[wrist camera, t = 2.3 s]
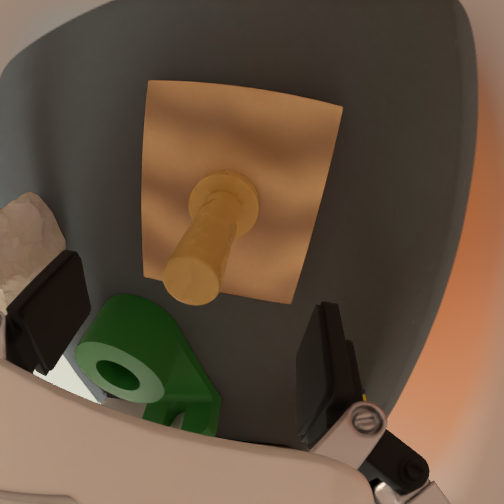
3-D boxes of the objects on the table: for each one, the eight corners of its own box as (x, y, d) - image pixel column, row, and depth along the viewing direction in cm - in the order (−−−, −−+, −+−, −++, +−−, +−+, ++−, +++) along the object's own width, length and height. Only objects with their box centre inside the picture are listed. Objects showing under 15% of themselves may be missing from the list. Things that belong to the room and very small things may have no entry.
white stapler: (121, 414, 41) (91, 450, 31) (110, 392, 40) (76, 427, 30) (211, 420, 37) (189, 470, 27) (201, 396, 36) (175, 445, 27)
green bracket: (88, 298, 27) (58, 341, 22) (158, 288, 25) (131, 340, 20) (161, 398, 36) (149, 437, 30) (222, 399, 34) (214, 443, 28)
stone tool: (26, 191, 21) (-88, 281, 8) (44, 180, 21) (-84, 275, 8) (63, 267, 25) (-24, 376, 12) (82, 261, 25) (-11, 381, 12)
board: (156, 80, 16) (147, 80, 15) (338, 105, 17) (343, 106, 15) (150, 267, 24) (143, 277, 23) (290, 293, 24) (290, 305, 23)
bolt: (196, 164, 18) (136, 224, 10) (265, 175, 18) (254, 245, 10) (190, 226, 20) (142, 311, 13) (254, 237, 20) (238, 331, 13)
